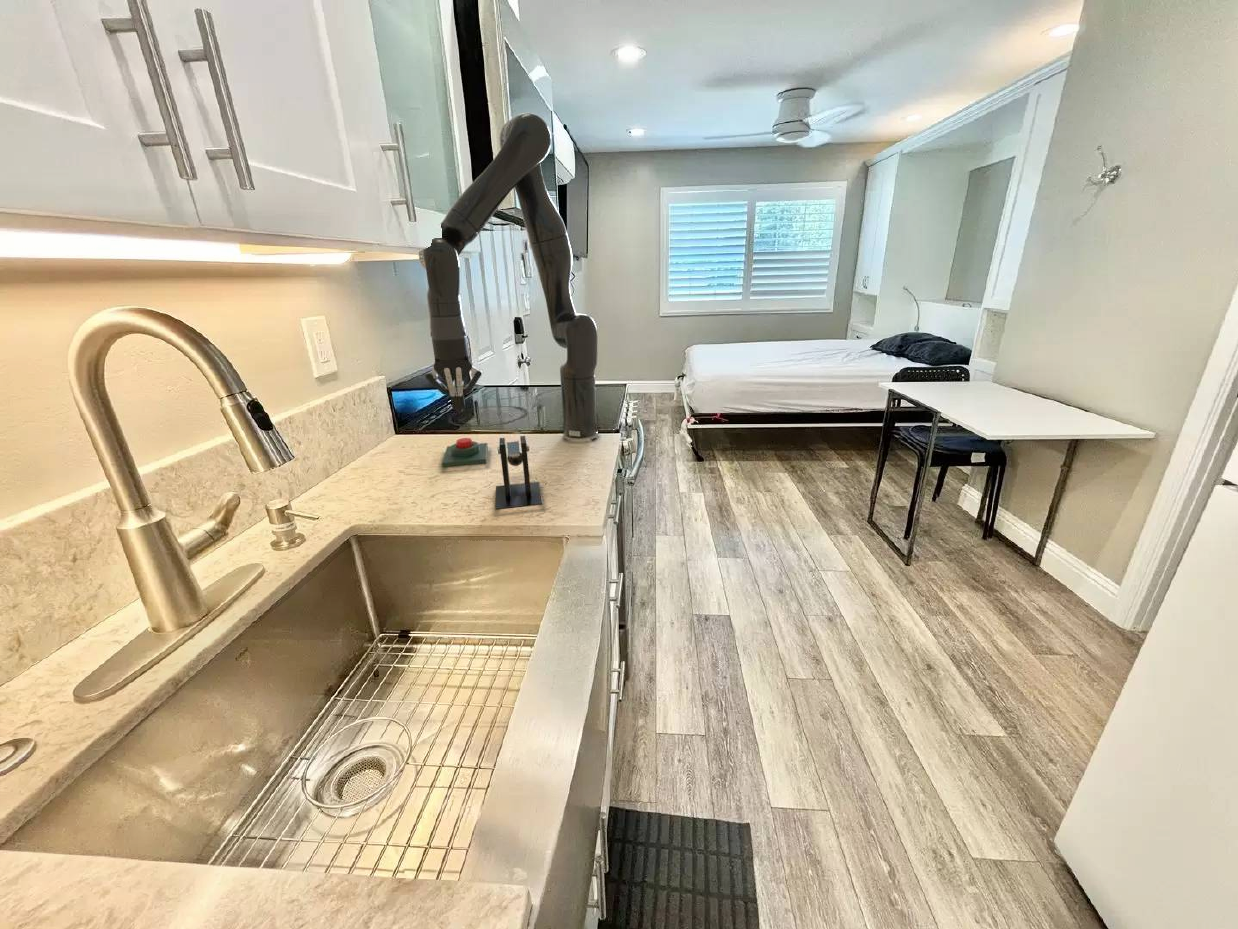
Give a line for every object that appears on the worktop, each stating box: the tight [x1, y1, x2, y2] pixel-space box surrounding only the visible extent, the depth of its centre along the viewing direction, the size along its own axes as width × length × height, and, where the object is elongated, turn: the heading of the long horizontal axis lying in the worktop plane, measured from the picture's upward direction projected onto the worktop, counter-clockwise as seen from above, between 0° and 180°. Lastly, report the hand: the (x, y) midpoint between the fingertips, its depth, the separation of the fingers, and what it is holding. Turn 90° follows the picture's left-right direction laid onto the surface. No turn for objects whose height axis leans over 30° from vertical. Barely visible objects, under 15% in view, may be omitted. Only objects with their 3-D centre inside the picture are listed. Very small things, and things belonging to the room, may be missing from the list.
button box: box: [441, 440, 489, 469], centre depth 121 cm, size 12×10×4 cm
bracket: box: [494, 435, 543, 511], centre depth 98 cm, size 11×9×13 cm
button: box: [455, 437, 473, 449], centre depth 120 cm, size 4×4×2 cm
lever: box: [506, 440, 523, 467], centre depth 101 cm, size 14×3×3 cm, turn 12°
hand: (459, 410), depth 116 cm, fingers closed
